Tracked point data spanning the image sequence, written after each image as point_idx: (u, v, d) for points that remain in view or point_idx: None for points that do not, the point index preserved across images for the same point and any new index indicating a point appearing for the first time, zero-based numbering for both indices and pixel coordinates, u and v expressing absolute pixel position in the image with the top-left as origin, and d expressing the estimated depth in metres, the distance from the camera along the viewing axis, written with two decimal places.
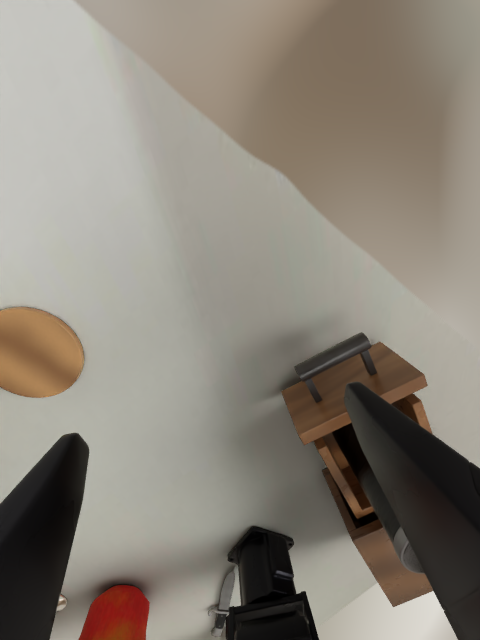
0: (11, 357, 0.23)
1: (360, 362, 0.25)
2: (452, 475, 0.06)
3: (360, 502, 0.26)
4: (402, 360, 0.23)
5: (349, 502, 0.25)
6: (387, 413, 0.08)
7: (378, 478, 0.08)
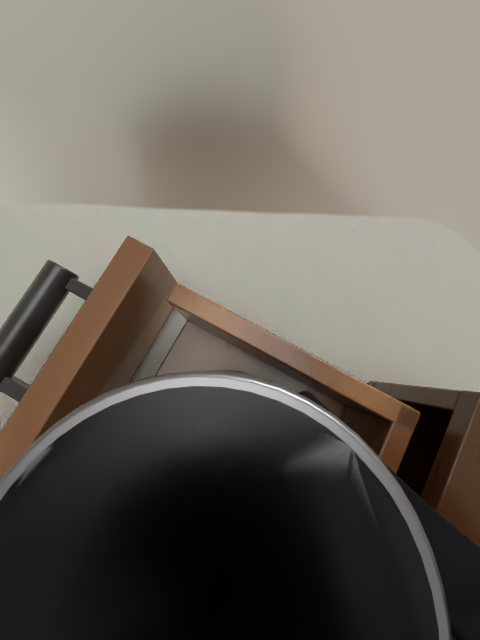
0: None
1: None
2: None
3: None
4: None
5: None
6: None
7: None
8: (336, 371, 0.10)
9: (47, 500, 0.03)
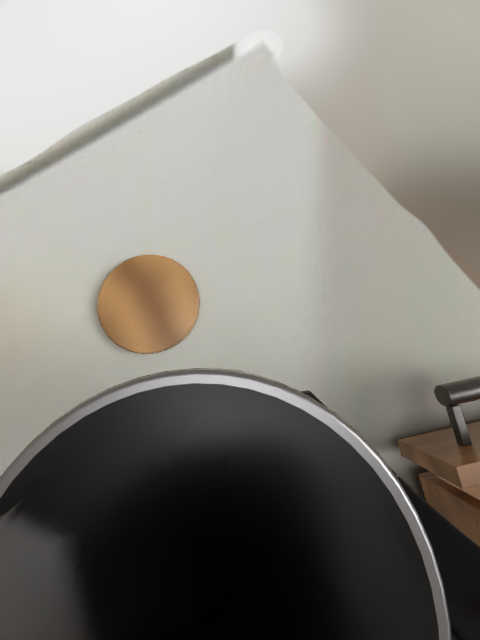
0: (132, 297, 0.23)
1: None
2: None
3: None
4: None
5: None
6: None
7: None
8: None
9: (47, 497, 0.03)
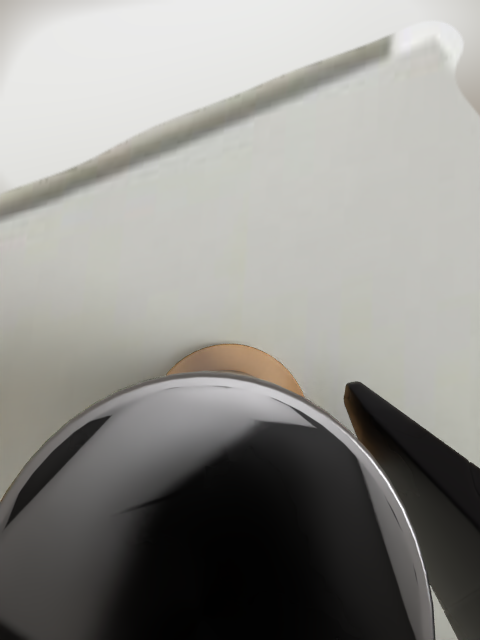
0: None
1: None
2: (452, 475, 0.06)
3: None
4: None
5: None
6: (387, 413, 0.08)
7: None
8: None
9: (64, 489, 0.04)
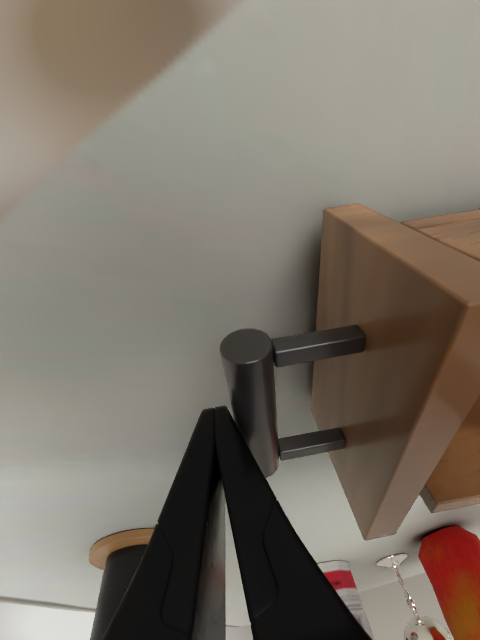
0: None
1: (333, 304, 0.09)
2: (250, 515, 0.06)
3: None
4: (382, 257, 0.06)
5: None
6: (230, 442, 0.08)
7: None
8: None
9: None
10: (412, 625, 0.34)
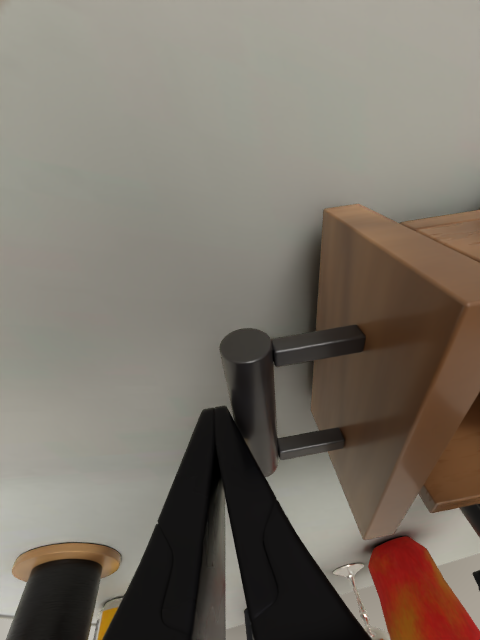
0: None
1: (333, 304, 0.09)
2: (250, 515, 0.06)
3: None
4: (382, 257, 0.06)
5: None
6: (230, 443, 0.08)
7: None
8: None
9: None
10: None
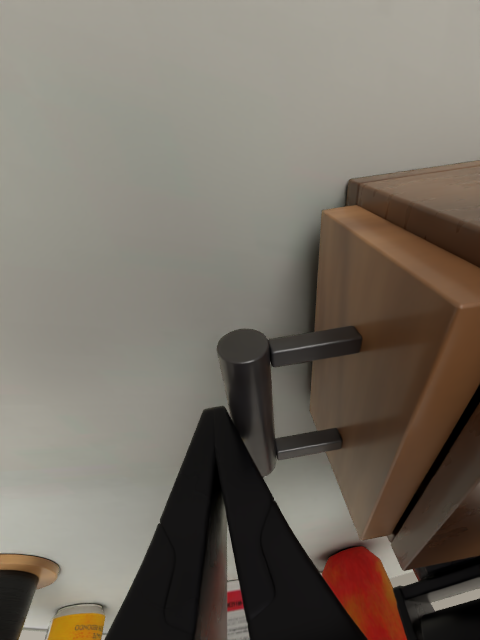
0: None
1: (331, 305, 0.09)
2: (248, 516, 0.06)
3: None
4: (378, 258, 0.06)
5: None
6: (228, 443, 0.08)
7: None
8: None
9: None
10: None
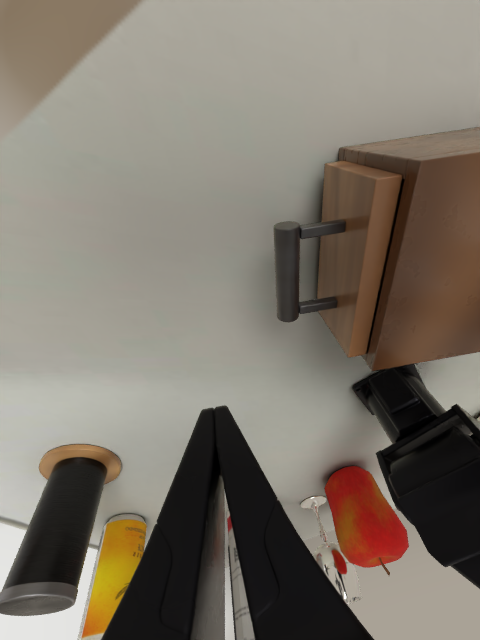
0: None
1: (330, 217, 0.17)
2: (251, 515, 0.06)
3: None
4: (351, 175, 0.14)
5: None
6: (231, 442, 0.08)
7: None
8: None
9: (28, 613, 0.24)
10: (318, 548, 0.41)
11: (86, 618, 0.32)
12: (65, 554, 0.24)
